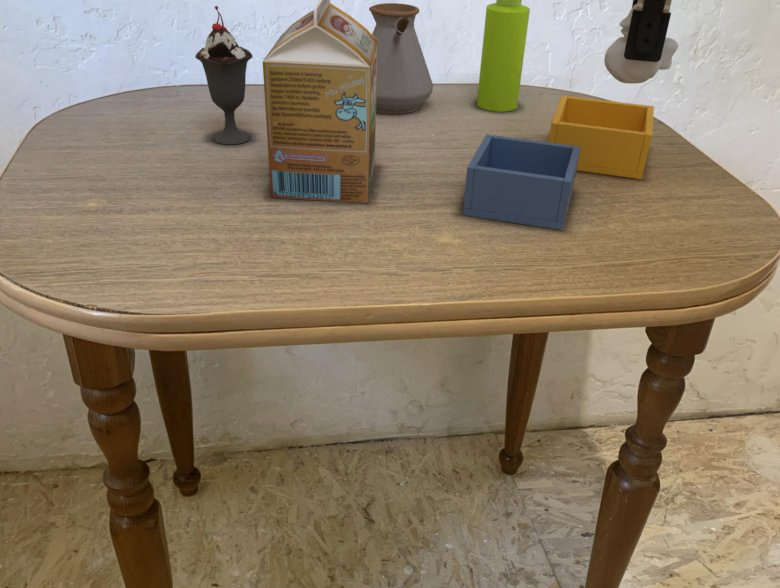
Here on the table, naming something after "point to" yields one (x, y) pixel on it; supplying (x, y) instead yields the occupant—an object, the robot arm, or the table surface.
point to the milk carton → (322, 108)
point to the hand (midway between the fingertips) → (642, 49)
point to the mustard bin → (605, 134)
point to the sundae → (225, 79)
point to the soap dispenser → (502, 55)
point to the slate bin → (521, 181)
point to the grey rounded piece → (633, 68)
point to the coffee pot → (399, 60)
